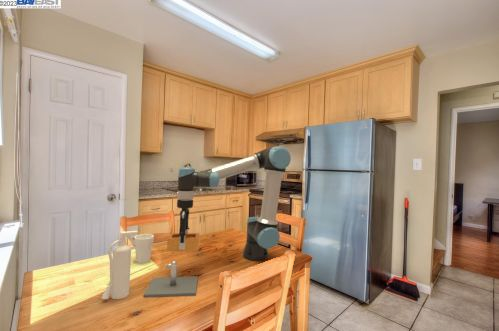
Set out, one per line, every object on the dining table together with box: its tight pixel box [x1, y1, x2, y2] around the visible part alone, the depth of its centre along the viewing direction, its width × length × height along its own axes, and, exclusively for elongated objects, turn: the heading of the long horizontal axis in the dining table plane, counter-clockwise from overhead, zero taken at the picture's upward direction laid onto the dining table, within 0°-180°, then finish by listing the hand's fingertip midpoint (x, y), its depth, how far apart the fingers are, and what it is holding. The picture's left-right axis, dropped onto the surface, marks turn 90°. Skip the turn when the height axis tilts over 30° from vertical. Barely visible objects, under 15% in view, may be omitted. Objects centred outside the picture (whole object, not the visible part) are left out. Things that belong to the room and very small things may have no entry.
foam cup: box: [133, 233, 155, 264], centre depth 125 cm, size 10×9×13 cm
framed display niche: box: [166, 232, 200, 252], centre depth 114 cm, size 14×8×6 cm, turn 99°
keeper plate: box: [143, 275, 199, 298], centre depth 101 cm, size 20×14×1 cm
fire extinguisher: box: [101, 230, 139, 300], centre depth 92 cm, size 7×12×25 cm, turn 144°
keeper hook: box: [164, 260, 178, 286], centre depth 100 cm, size 5×2×10 cm, turn 99°
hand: (183, 245), depth 114 cm, fingers closed on framed display niche, 8 cm apart
